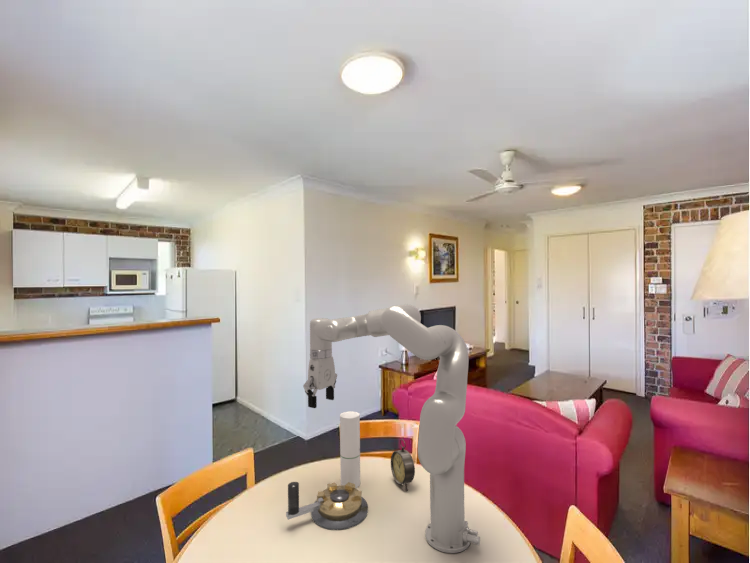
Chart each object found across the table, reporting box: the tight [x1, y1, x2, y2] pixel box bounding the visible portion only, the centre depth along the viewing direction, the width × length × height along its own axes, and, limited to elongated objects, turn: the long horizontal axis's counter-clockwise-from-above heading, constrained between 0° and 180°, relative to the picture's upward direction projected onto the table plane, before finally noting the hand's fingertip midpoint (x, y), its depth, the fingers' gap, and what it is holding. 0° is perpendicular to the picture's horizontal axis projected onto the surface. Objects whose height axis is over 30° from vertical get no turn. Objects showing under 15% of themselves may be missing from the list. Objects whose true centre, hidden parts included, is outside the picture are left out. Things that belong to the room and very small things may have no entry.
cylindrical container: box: [339, 410, 361, 489], centre depth 132 cm, size 7×7×25 cm
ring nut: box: [285, 481, 363, 520], centre depth 113 cm, size 24×14×11 cm, turn 120°
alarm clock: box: [390, 438, 416, 492], centre depth 131 cm, size 11×5×16 cm, turn 25°
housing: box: [310, 496, 369, 531], centre depth 116 cm, size 18×18×1 cm
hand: (321, 403), depth 126 cm, fingers open, 9 cm apart
